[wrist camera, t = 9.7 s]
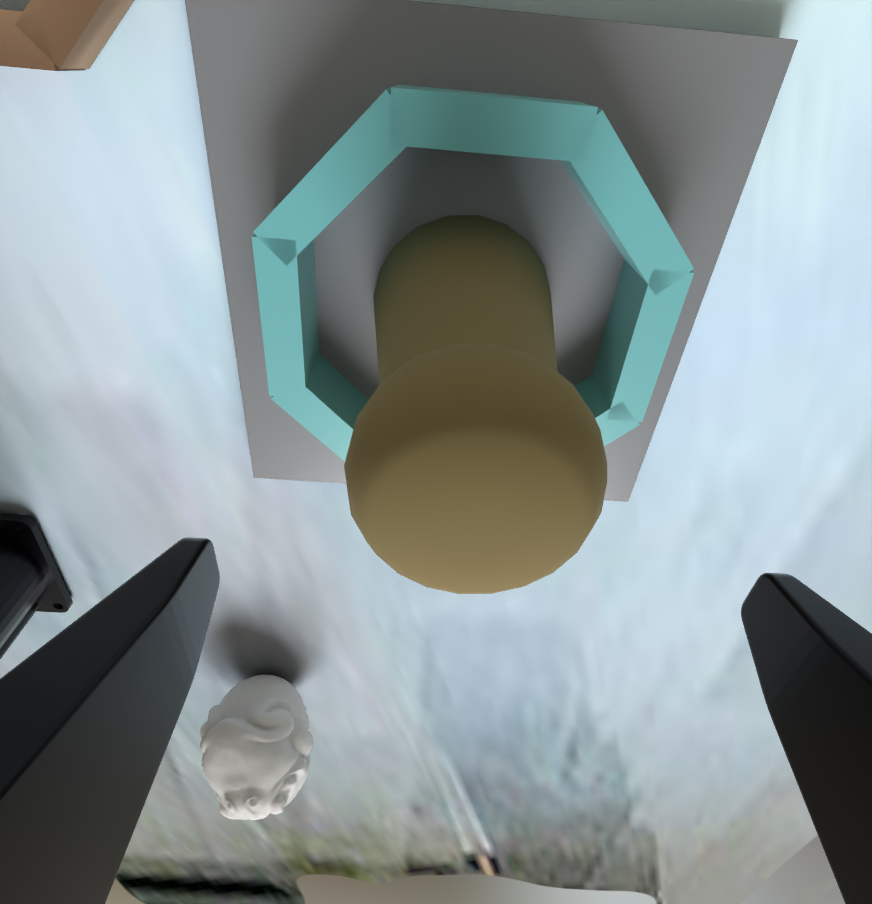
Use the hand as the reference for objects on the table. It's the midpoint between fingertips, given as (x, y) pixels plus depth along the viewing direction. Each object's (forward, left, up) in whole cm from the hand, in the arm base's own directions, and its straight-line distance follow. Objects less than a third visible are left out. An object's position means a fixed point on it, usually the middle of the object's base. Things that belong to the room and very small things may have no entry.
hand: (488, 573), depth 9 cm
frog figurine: (-25, +9, -13) cm, 30 cm away
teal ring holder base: (0, 0, -13) cm, 13 cm away
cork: (0, 0, -12) cm, 12 cm away
